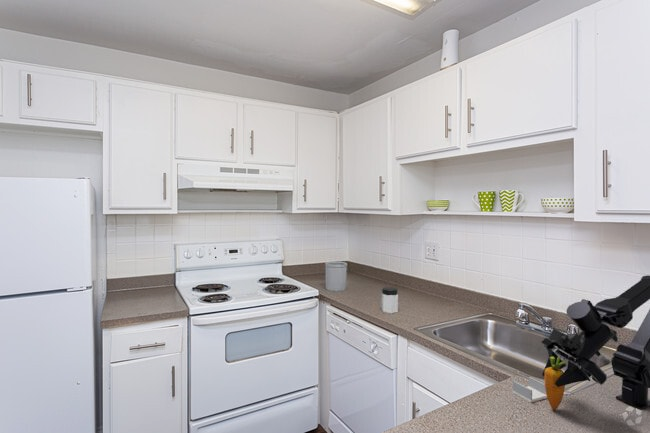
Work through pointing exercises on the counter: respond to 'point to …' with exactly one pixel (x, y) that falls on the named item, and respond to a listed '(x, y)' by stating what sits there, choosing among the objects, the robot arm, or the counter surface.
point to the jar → (389, 300)
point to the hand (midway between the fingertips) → (549, 380)
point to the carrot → (551, 377)
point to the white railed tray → (530, 390)
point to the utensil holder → (336, 276)
